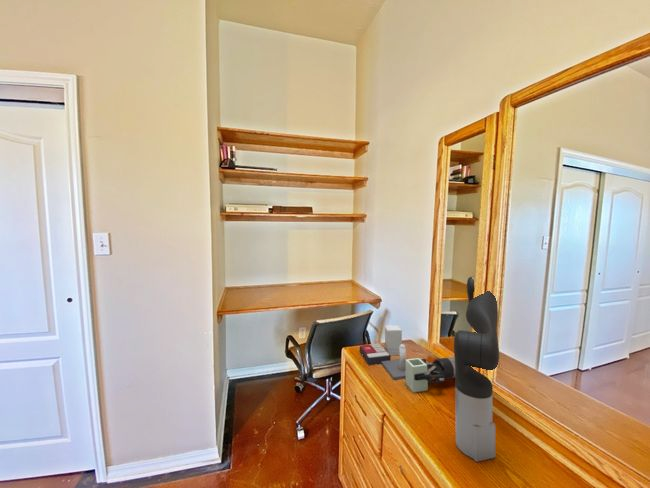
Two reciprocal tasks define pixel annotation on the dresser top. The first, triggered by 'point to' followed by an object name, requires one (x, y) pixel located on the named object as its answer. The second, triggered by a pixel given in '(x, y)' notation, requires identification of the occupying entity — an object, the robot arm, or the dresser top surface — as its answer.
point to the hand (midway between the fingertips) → (410, 372)
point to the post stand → (397, 365)
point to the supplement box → (393, 339)
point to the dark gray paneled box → (374, 354)
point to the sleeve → (414, 368)
